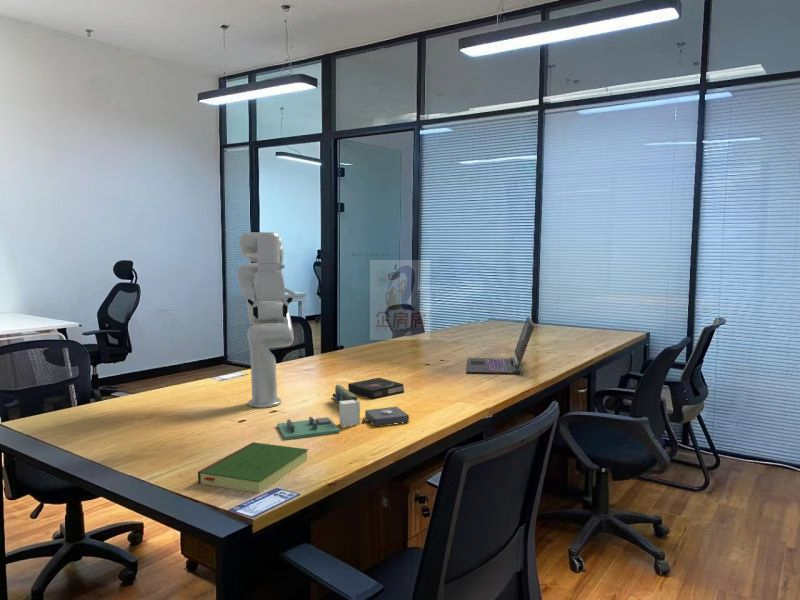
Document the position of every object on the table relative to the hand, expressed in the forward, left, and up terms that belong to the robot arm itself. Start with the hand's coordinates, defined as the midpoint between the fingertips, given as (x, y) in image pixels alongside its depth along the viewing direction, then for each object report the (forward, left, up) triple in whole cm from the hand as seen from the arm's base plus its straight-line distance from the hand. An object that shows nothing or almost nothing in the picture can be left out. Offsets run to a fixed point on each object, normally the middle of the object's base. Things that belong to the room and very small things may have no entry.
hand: (270, 317), depth 203 cm
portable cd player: (-24, +46, -38) cm, 64 cm away
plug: (+15, +23, -37) cm, 46 cm away
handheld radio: (-10, +28, -37) cm, 48 cm away
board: (+15, +9, -37) cm, 41 cm away
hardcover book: (+46, -12, -38) cm, 61 cm away
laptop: (-48, +119, -38) cm, 134 cm away
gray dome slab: (+15, +35, -37) cm, 53 cm away
